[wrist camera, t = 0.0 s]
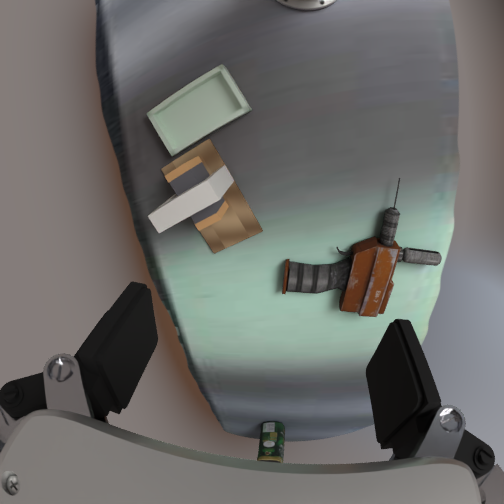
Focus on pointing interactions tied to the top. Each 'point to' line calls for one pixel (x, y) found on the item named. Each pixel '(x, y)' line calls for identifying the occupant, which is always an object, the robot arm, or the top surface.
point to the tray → (198, 109)
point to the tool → (360, 270)
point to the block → (187, 179)
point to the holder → (238, 213)
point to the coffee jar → (271, 442)
